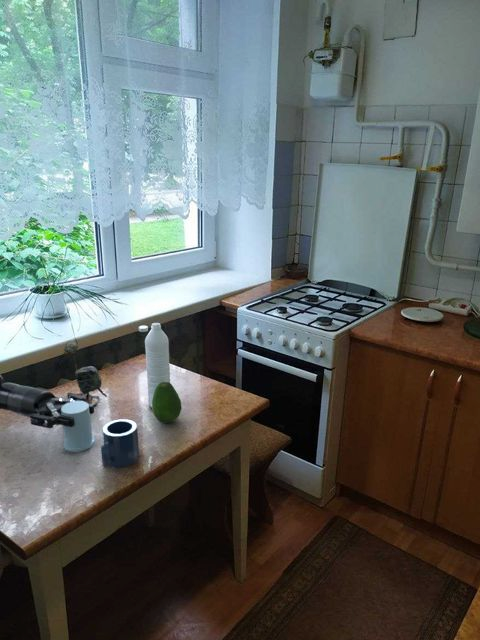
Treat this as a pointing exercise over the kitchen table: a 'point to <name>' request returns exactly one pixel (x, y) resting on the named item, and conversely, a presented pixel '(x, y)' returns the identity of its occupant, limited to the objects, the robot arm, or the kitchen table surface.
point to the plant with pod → (85, 377)
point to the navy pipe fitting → (120, 443)
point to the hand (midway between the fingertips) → (83, 416)
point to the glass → (78, 427)
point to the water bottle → (156, 358)
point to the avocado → (166, 403)
